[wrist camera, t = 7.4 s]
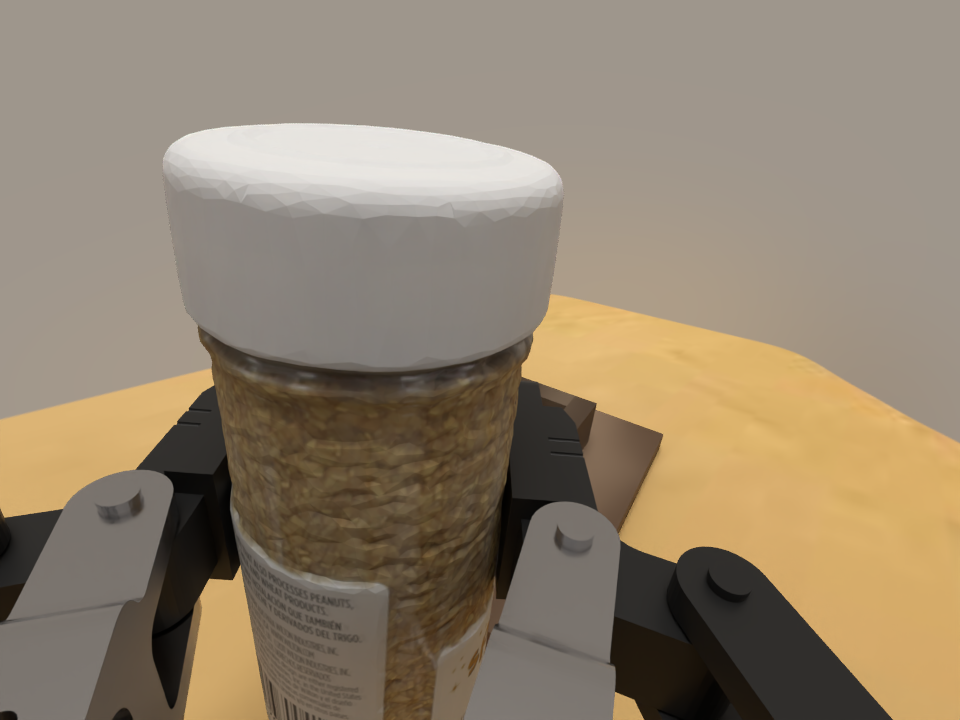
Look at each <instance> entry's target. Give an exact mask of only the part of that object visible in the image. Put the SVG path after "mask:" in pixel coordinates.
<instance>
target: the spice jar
mask: <svg viewBox="0 0 960 720" xmlns="http://www.w3.org/2000/svg"><path fill="white" fill-rule="evenodd" d="M163 181H164V188H165V195H166V203H167V210H168V218H169V224H170V230H171V236H172V243H173V249H174V255H175V261H176V266H177V273H178V278H179V282H180V288H181V293H182V297H183V302H184V306H185V309H186V311H187V313H188V314H189V315H190V316H191V317H192V318H193V320H194V321H195V322H196V323H197V324H198V332H199V338H200V342H201V343H202V344H203V346H204V347H205V348H206V350H207V351H208V352H209V353H210V356H211V359H212V375H213V380H214V384H215V388H216V394H217V400H218V406H219V410H220V415H221V419H222V429H223V435H224V439H225V446H226V452H227V458H228V469H229V473H230V477H231V481H232V488H231V498H230V511H231V517H232V523H233V528H234V533H235V538H236V543H237V549H238V554H239V559H240V564H241V570H242V576H243V582H244V587H245V593H246V598H247V603H248V609H249V614H250V620H251V626H252V631H253V637H254V643H255V649H256V654H257V660H258V665H259V671H260V677H261V682H262V688H263V693H264V699H265V704H266V710H267V714H268V718H269V720H463V719H464V716H465V712H466V709H467V706H468V703H469V700H470V697H471V694H472V691H473V687H474V684H475V681H476V678H477V675H478V672H479V669H480V666H481V662H482V659H483V656H484V653H485V648H486V641H487V634H488V627H489V620H490V614H491V607H492V600H493V593H494V586H495V574H496V568H497V560H498V552H499V543H500V532H501V514H502V499H503V494H504V488H505V484H506V478H507V470H508V465H509V455H510V449H511V442H512V437H513V424H514V420H515V417H516V412H517V404H518V388H519V385H520V382H521V379H522V376H521V365H522V363H523V362H524V361H525V360H526V359H527V358H528V355H529V352H530V349H531V345H532V342H533V332H534V330H535V329H536V328H537V327H538V326H539V325H540V323H541V322H542V320H543V318H544V317H545V315H546V312H547V309H548V304H549V298H550V292H551V286H552V280H553V274H554V268H555V261H556V253H557V245H558V239H559V231H560V223H561V216H562V208H563V199H564V189H563V184H562V180H561V178H560V176H559V175H558V173H557V172H556V171H555V170H554V169H553V167H552V166H551V165H549V164H547V163H546V162H544V161H543V160H540V159H538V158H536V157H534V156H531V155H528V154H526V153H523V152H520V151H517V150H513V149H509V148H506V147H502V146H498V145H493V144H488V143H483V142H480V141H475V140H471V139H466V138H461V137H456V136H451V135H444V134H438V133H430V132H422V131H415V130H406V129H398V128H387V127H376V126H361V125H345V124H344V125H343V124H301V123H297V124H296V123H294V124H293V123H287V124H268V125H248V126H233V127H222V128H215V129H208V130H203V131H200V132H196V133H192V134H188V135H186V136H184V137H182V138H181V139H179V140H177V141H176V142H174V143H173V144H172V145H170V147H169V148H168V150H167V152H166V153H165V154H164V159H163Z"/></svg>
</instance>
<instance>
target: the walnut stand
mask: <svg viewBox="0 0 960 720" xmlns="http://www.w3.org/2000/svg"><path fill="white" fill-rule="evenodd" d="M521 381H531V380H529V379H526V378H523V377H522V379H521ZM532 382H534V381H532ZM539 388H540V393H541V399H542V405H543V406H551V407H562V408H563V410H564V411H565V412H566V413H567V414H568V415H569V416H570V417H571V419H572V420H573V421H574V422H575V424H576V428H577V431H578V435H579V439H580V441H579V443H581V447H582V451H583V458H584V459H585V463H586V467H587V470H588V474H589V478H590V482H591V486H592V490H593V494H594V498H595V502H596V505H597V509H598V512H599V513H601V514H602V515H603V516H605V517H606V518H607V519H608V520H609V521H610V522H611V523H612V524H613V526H614V527H615V529H616V531H617V533H619V531H620V529H621V527H622V525H623V523H624V520H625V518H626V516H627V514H628V512H629V510H630V508H631V506H632V504H633V502H634V500H635V498H636V495H637V493H638V491H639V489H640V487H641V485H642V483H643V481H644V479H645V477H646V475H647V473H648V470H649V468H650V466H651V464H652V462H653V460H654V458H655V456H656V454H657V452H658V450H659V447H660V444H661V440H662V437H663V434H661V433H658V432H656V431H653V430H650V429H647V428H644V427H642V426H639V425H636V424H633V423H631V422H628V421H625V420H622V419H619V418H617V417H614V416H611V415H608V414H605V413H603V412H600V411H597V410H595V409H596V403H594V402H591V401H588V400H585V399H582V398H579V397H577V396H574V395H571V394H568V393H565V392H563V391H560V390H557V389H554V388H551V387H548V386H546V385H543V384H540V383H539ZM505 601H506V600H505V599H496V581H495V586H494V593H493V600H492V607H491V614H490V620H489V627H488V634H487V641H486V647H487V644H488V641H489V638H490V635H491V632H492V630H493V627H494V625H495V624H498V622H499V620H500V617H501V614H502V610H503V607H504V604H505ZM485 649H486V648H485Z"/></svg>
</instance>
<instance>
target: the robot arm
mask: <svg viewBox="0 0 960 720" xmlns="http://www.w3.org/2000/svg"><path fill="white" fill-rule="evenodd" d="M579 441H580V439H579V435H578V431H577V428H576V424H575V422H574V421H573V420H572V419H571V417H570V416H569V415H568V414H567V413H566V412H565V411H564V410H563V408H562V407H551V406H543V405H542V399H541V393H540V388H539V383H538V382H532V381H521V382H520V385H519V388H518V404H517V412H516V417H515V420H514V424H513V437H512V442H511V449H510V455H509V465H508V470H507V478H506V484H505V488H504V494H503V499H502V514H501V532H500V543H499V552H498V560H497V568H496V574H495V581H496V599H505V600H506V601H505V604H504V607H503V610H502V614H501V617H500V620H499V622H498V624H495V625H494V627H493V630H492V632H491V635H490V638H489V641H488V644H487V647H486V650H485V653H484V656H483V659H482V662H481V666H480V669H479V672H478V675H477V678H476V681H475V684H474V687H473V691H472V694H471V697H470V700H469V703H468V706H467V709H466V712H465V716H464V719H463V720H613V708H614V696H615V692H617V693H619V694H622V695H624V696H627V697H629V698H632V699H634V700H635V701H636V704H637V706H638V708H639V710H640V712H641V714H642V716H643V718H644V720H893V719H892V718H891V717H890V716H889V715H888V714H887V713H886V711H885V710H884V709H883V708H882V707H881V706H880V705H879V704H878V702H877V701H876V700H875V699H874V698H873V697H872V696H871V695H870V693H869V692H868V691H867V690H866V689H865V688H864V687H863V686H862V684H861V683H860V682H859V681H858V680H857V679H856V678H855V676H854V675H853V674H852V673H851V672H850V671H849V670H848V669H847V667H846V666H845V665H844V664H843V663H842V662H841V661H840V660H839V658H838V657H837V656H836V655H835V654H834V653H833V652H832V651H831V649H830V648H829V647H828V646H827V645H826V644H825V643H824V642H823V640H822V639H821V638H820V637H819V636H818V635H817V634H816V633H815V631H814V630H813V629H812V628H811V627H810V626H809V625H808V623H807V622H806V621H805V620H804V619H803V618H802V617H801V616H800V614H799V613H798V612H797V611H796V610H795V609H794V608H793V607H792V605H791V604H790V603H789V602H788V601H787V600H786V599H785V598H784V596H783V595H782V594H781V593H780V592H779V591H778V590H777V589H776V587H775V586H774V585H773V584H772V583H771V582H770V581H769V580H768V578H767V577H766V576H765V575H764V574H763V573H762V572H761V571H760V570H759V569H758V568H756V567H755V566H754V565H753V564H751V563H750V562H748V561H747V560H745V559H744V558H742V557H740V556H738V555H736V554H734V553H731V552H729V551H726V550H723V549H719V548H714V547H696V548H693V549H690V550H688V551H686V552H685V553H684V554H682V555H681V557H680V558H679V560H678V562H677V564H676V563H673V562H670V561H667V560H664V559H661V558H658V557H655V556H653V555H650V554H647V553H644V552H641V551H639V550H636V549H634V548H632V547H630V546H628V545H627V544H625V543H624V542H622V541H621V540H620V538H619V535H618V533H617V531H616V529H615V527H614V526H613V524H612V523H611V522H610V521H609V520H608V519H607V518H606V517H605V516H603V515H602V514H601V513H599V512H598V509H597V505H596V502H595V498H594V494H593V490H592V486H591V482H590V478H589V474H588V470H587V467H586V463H585V459H584V458H583V451H582V447H581V443H579ZM231 488H232V481H231V477H230V473H229V469H228V458H227V452H226V446H225V439H224V435H223V429H222V419H221V415H220V410H219V406H218V400H217V394H216V388H215V385H214V386H212V387H211V388H209V389H207V390H206V391H204V392H202V394H201V395H200V396H199V397H198V398H197V399H196V400H195V402H194V403H193V404H192V405H191V406H190V407H189V411H186V412H185V413H184V414H183V415H182V417H181V418H180V419H179V420H178V421H177V425H174V426H173V427H172V428H171V429H170V430H169V432H168V433H167V434H166V435H165V436H164V437H163V439H162V440H161V441H160V442H159V443H158V444H157V445H156V447H155V448H154V449H153V450H152V451H151V452H150V454H149V455H148V456H147V457H146V458H145V459H144V460H143V462H142V463H141V464H140V465H139V466H138V467H137V469H136V470H130V471H124V472H119V473H115V474H112V475H109V476H106V477H103V478H101V479H98V480H96V481H94V482H92V483H91V484H89V485H87V486H85V487H84V488H82V489H81V490H80V491H78V492H77V493H76V494H75V495H74V496H73V497H72V498H71V499H70V500H69V501H68V502H67V504H66V506H65V507H64V509H60V510H54V511H48V512H41V513H34V514H28V515H21V516H14V517H7V518H4V516H3V514H2V512H1V509H0V720H184V713H185V707H186V701H187V695H188V689H189V684H190V678H191V672H192V666H193V660H194V654H195V648H196V642H197V636H198V630H199V625H200V619H201V612H202V606H201V601H200V597H199V596H200V594H201V593H202V591H203V589H204V587H205V585H206V583H207V581H208V580H209V579H223V580H233V579H234V577H235V575H236V573H237V571H238V568H239V566H240V559H239V554H238V549H237V543H236V538H235V533H234V528H233V523H232V517H231V511H230V498H231Z"/></svg>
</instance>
